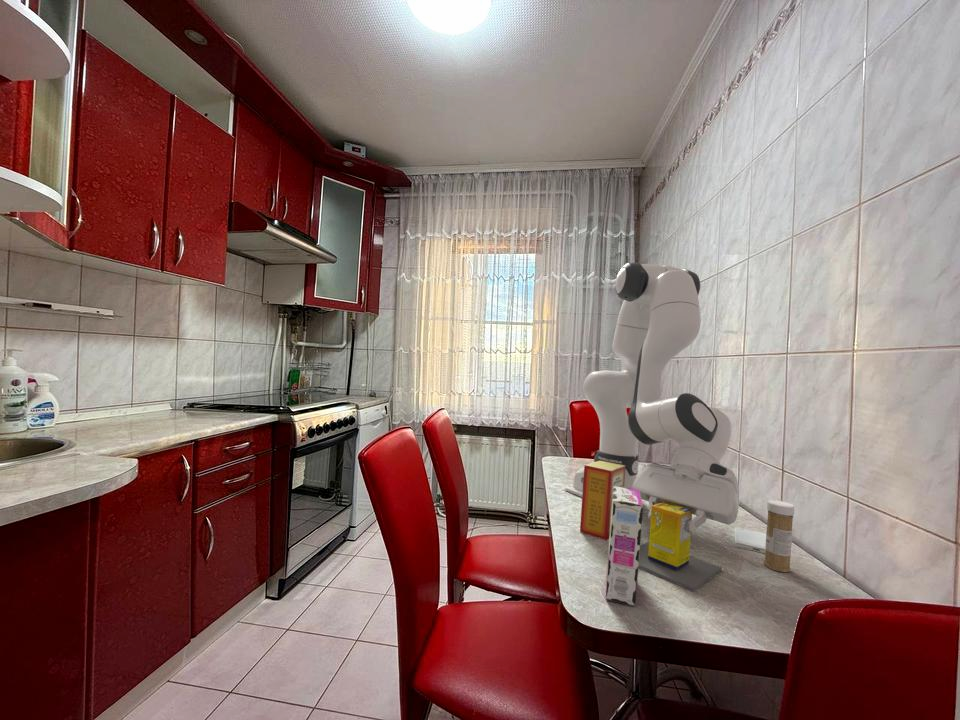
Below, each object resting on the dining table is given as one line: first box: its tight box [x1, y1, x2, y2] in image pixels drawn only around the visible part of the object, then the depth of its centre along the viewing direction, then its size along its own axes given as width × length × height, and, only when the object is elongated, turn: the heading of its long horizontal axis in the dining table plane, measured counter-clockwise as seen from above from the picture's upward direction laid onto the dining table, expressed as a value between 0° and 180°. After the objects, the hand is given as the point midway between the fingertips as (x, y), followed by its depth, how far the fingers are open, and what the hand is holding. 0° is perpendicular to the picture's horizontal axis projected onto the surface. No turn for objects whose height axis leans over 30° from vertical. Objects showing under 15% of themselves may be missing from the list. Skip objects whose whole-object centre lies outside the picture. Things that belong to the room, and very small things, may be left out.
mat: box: [638, 540, 723, 592], centre depth 85 cm, size 15×14×1 cm
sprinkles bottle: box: [763, 499, 795, 573], centre depth 87 cm, size 5×5×14 cm
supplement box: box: [648, 502, 693, 571], centre depth 84 cm, size 6×6×11 cm
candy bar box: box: [605, 486, 644, 607], centre depth 74 cm, size 11×5×16 cm, turn 162°
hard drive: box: [733, 527, 766, 554], centre depth 100 cm, size 2×8×12 cm
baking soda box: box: [579, 461, 626, 541], centre depth 101 cm, size 10×6×16 cm
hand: (669, 525), depth 84 cm, fingers closed on supplement box, 6 cm apart
